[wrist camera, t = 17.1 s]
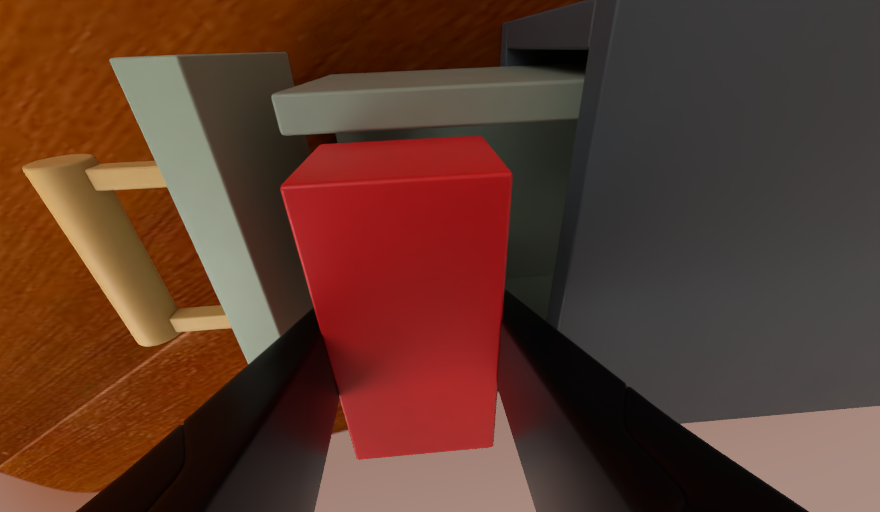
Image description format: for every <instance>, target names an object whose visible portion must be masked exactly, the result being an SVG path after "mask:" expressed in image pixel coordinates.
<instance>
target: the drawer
mask: <svg viewBox="0 0 880 512" xmlns="http://www.w3.org/2000/svg"><path fill="white" fill-rule="evenodd" d="M110 63H111V65H112V68H113V70H114V72H115V74H116V76H117V78H118V81H119V83H120V85H121V87H122V89H123V92H124V94H125V96H126V98H127V100H128V102H129V105H130V107H131V109H132V111H133V113H134V116H135V118H136V120H137V122H138V124H139V126H140V129H141V131H142V133H143V135H144V137H145V140H146V142H147V144H148V146H149V148H150V150H151V153H152V155H153V157H154V159H155V161H142V162H124V163H106V164H99V163H98V161H97V159H96V157H95V156H94V155H91V154H73V155H64V156H57V157H52V158H47V159H42V160H38V161H34V162H31V163H29V164H27V165H25V166H23V171H24V173H25V174H26V176H27V177H28V179H29V180H30V182H31V183H32V185H33V186H34V188H35V189H36V191H37V192H38V194H39V195H40V197H41V198H42V200H43V201H44V203H45V204H46V206H47V207H48V209H49V210H50V212H51V213H52V215H53V216H54V218H55V219H56V221H57V222H58V224H59V225H60V227H61V228H62V230H63V231H64V233H65V234H66V236H67V237H68V239H69V240H70V242H71V243H72V245H73V246H74V248H75V249H76V251H77V252H78V254H79V255H80V257H81V259H82V260H83V262H84V263H85V265H86V266H87V268H88V269H89V271H90V272H91V274H92V275H93V277H94V278H95V280H96V281H97V283H98V284H99V286H100V287H101V289H102V290H103V292H104V293H105V295H106V296H107V298H108V299H109V301H110V302H111V304H112V305H113V307H114V308H115V310H116V311H117V313H118V314H119V316H120V317H121V319H122V320H123V322H124V323H125V325H126V326H127V328H128V329H129V331H130V332H131V334H132V335H133V337H134V338H135V340H136V341H137V343H138V344H139V345H142V346H147V347H148V346H156V345H159V344H162V343H165V342H167V341H169V340H171V339H173V338H174V337H176V336H177V335H178V334H180V333H181V332H185V331H199V330H212V329H225V328H232V329H233V331H234V334H235V336H236V338H237V340H238V342H239V345H240V347H241V349H242V351H243V353H244V355H245V358H246V360H247V362H248V364H250V363H251V362H252V361H253V360H254V359H255V358H256V357H258V356H259V355H260V354H261V353H262V352H263V351H264V350H265V349H267V348H268V347H269V346H270V345H271V344H272V343H273V342H275V341H276V340H277V339H278V338H279V337H280V336H281V335H283V334H284V333H285V332H286V331H287V330H288V329H289V328H290V327H292V326H293V325H294V324H295V323H296V322H297V321H298V320H300V319H301V318H302V317H303V316H304V315H305V314H306V313H307V312H309V311H310V310H311V309H312V308H313V303H312V300H311V296H310V293H309V289H308V286H307V282H306V279H305V275H304V271H303V268H302V264H301V261H300V257H299V254H298V250H297V247H296V243H295V240H294V236H293V233H292V229H291V226H290V222H289V219H288V215H287V212H286V208H285V205H284V201H283V198H282V194H281V191H280V187H281V185H282V184H283V183H284V182H285V181H286V180H287V179H288V178H289V177H290V176H291V174H292V173H293V172H294V171H295V170H296V169H297V168H298V167H299V166H300V165H301V164H302V163H303V162H304V161H305V160H306V159H307V158H308V157H309V156H310V151H309V147H308V143H307V138H306V135H309V134H328V133H335V134H336V139H337V143H352V142H370V141H389V140H408V139H426V138H445V137H463V136H482V137H483V138H484V139H485V140H486V142H487V143H488V144H489V145H490V147H491V148H492V149H493V150H494V151H495V153H496V154H497V155H498V156H499V158H500V159H501V160H502V161H503V162H504V164H505V165H506V166H507V167H508V169H509V170H510V171H511V172H512V175H513V180H512V194H511V208H510V221H509V235H508V249H507V263H506V276H505V290H507V291H509V292H510V293H511V294H512V295H514V296H515V297H516V298H517V299H519V300H520V301H521V302H523V303H524V304H525V305H526V306H528V307H529V308H530V309H532V310H533V311H534V312H535V313H537V314H538V315H539V316H540V317H542V318H543V319H544V320H546V319H547V313H548V306H549V300H550V294H551V287H552V281H553V275H554V268H555V262H556V256H557V249H558V243H559V237H560V230H561V224H562V218H563V211H564V205H565V199H566V192H567V186H568V180H569V173H570V167H571V161H572V154H573V148H574V141H575V135H576V129H577V122H578V116H579V110H580V103H581V97H582V91H583V84H584V78H585V72H586V65H587V63H572V64H550V65H528V66H506V67H485V68H463V69H441V70H419V71H397V72H375V73H353V74H331V75H328V76H326V77H323V78H320V79H316V80H313V81H310V82H307V83H304V84H301V85H298V86H295V85H294V81H293V77H292V72H291V68H290V63H289V59H288V55H287V52H265V53H228V54H191V55H162V56H138V57H115V58H111V59H110ZM161 187H167V188H168V190H169V192H170V194H171V196H172V198H173V201H174V203H175V205H176V207H177V209H178V212H179V214H180V216H181V218H182V220H183V222H184V225H185V227H186V229H187V231H188V233H189V236H190V238H191V240H192V242H193V244H194V246H195V249H196V251H197V253H198V255H199V257H200V260H201V262H202V264H203V266H204V268H205V270H206V273H207V275H208V277H209V279H210V281H211V284H212V286H213V288H214V290H215V292H216V294H217V297H218V299H219V301H220V303H221V305H218V306H204V307H190V308H179V309H178V308H177V306H176V304H175V302H174V300H173V299H172V297H171V295H170V293H169V291H168V289H167V288H166V286H165V284H164V282H163V280H162V278H161V277H160V275H159V273H158V271H157V269H156V267H155V266H154V264H153V262H152V260H151V258H150V256H149V255H148V253H147V251H146V249H145V247H144V245H143V243H142V242H141V240H140V238H139V236H138V234H137V232H136V231H135V229H134V227H133V225H132V223H131V221H130V220H129V218H128V216H127V214H126V212H125V210H124V209H123V207H122V205H121V203H120V201H119V199H118V198H117V196H116V194H115V192H114V190H126V189H143V188H161Z"/></svg>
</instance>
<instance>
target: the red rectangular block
mask: <svg viewBox="0 0 880 512" xmlns="http://www.w3.org/2000/svg"><path fill="white" fill-rule="evenodd" d="M512 180H513V175H512V172H511V171H510V170H509V169H508V167H507V166H506V165H505V164H504V162H503V161H502V160H501V159H500V158H499V156H498V155H497V154H496V153H495V151H494V150H493V149H492V148H491V147H490V145H489V144H488V143H487V142H486V140H485V139H484V138H483V137H482V136H463V137H445V138H426V139H408V140H389V141H370V142H352V143H333V144H321V145H319V146H318V147H317V148H316V149H315V150H314V151H313V152H312V153H311V154H310V156H309V157H308V158H307V159H306V160H305V161H304V162H303V163H302V164H301V165H300V166H299V167H298V168H297V169H296V170H295V171H294V172H293V173H292V174H291V176H290V177H289V178H288V179H287V180H286V181H285V182H284V183H283V184H282V185H281V187H280V191H281V194H282V198H283V201H284V205H285V208H286V212H287V215H288V219H289V222H290V226H291V229H292V233H293V236H294V240H295V243H296V247H297V250H298V254H299V257H300V261H301V264H302V268H303V271H304V275H305V279H306V282H307V286H308V289H309V293H310V296H311V300H312V303H313V307H314V310H315V314H316V317H317V321H318V324H319V328H320V331H321V334H322V335H323V338H324V342H325V345H326V349H327V352H328V356H329V359H330V363H331V367H332V370H333V374H334V377H335V381H336V384H337V388H338V391H339V398H340V402H341V405H342V409H343V412H344V416H345V419H346V423H347V426H348V430H349V433H350V437H351V440H352V443H353V447H354V451H355V454H356V458H357V459H369V458H380V457H392V456H402V455H413V454H424V453H434V452H445V451H456V450H467V449H477V448H488V447H492V446H493V442H494V428H495V414H496V400H497V387H498V385H497V368H498V354H499V340H500V326H501V320H502V317H503V304H504V290H505V276H506V263H507V249H508V235H509V221H510V208H511V194H512Z"/></svg>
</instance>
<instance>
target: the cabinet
mask: <svg viewBox="0 0 880 512" xmlns="http://www.w3.org/2000/svg"><path fill="white" fill-rule="evenodd" d="M572 63H587V65H586V72H585V78H584V84H583V91H582V97H581V103H580V110H579V116H578V122H577V129H576V135H575V141H574V148H573V154H572V161H571V167H570V173H569V180H568V186H567V192H566V199H565V205H564V211H563V218H562V224H561V230H560V237H559V243H558V249H557V256H556V262H555V268H554V275H553V281H552V287H551V294H550V300H549V306H548V313H547V319H546V321H547V322H548V323H549V324H551V325H552V326H553V327H555V328H556V329H557V330H558V331H560V332H561V333H562V334H563V335H565V336H566V337H567V338H569V339H570V340H571V341H572V342H574V343H575V344H576V345H578V346H579V347H580V348H581V349H583V350H584V351H585V352H587V353H588V354H589V355H590V356H592V357H593V358H594V359H595V360H597V361H598V362H599V363H601V364H602V365H603V366H604V367H606V368H607V369H608V370H610V371H611V372H612V373H613V374H615V375H616V376H617V377H618V378H620V379H621V380H622V381H624V382H625V383H626V385H627V386H626V388H627V387H628V386H630V387H631V388H633V389H634V390H635V391H637V392H638V393H639V394H640V395H642V396H643V397H644V398H646V399H647V400H648V401H649V402H651V403H652V404H653V405H655V406H656V407H657V408H659V409H660V410H661V411H663V412H664V413H665V414H667V415H668V416H669V417H671V418H672V419H673V420H675V421H676V422H677V423H679V424H681V423H692V422H703V421H714V420H724V419H737V418H747V417H759V416H770V415H781V414H792V413H803V412H814V411H825V410H835V409H847V408H859V407H869V406H880V0H584V1H580V2H577V3H573V4H569V5H566V6H562V7H559V8H555V9H552V10H548V11H544V12H541V13H537V14H534V15H530V16H526V17H523V18H519V19H516V20H512V21H508V22H505V23H503V24H502V39H501V60H500V67H506V66H528V65H550V64H572Z"/></svg>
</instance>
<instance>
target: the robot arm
mask: <svg viewBox="0 0 880 512" xmlns="http://www.w3.org/2000/svg"><path fill="white" fill-rule="evenodd" d="M497 385H498V389H499V393H500V396H501V400H502V403H503V406H504V409H505V413H506V416H507V419H508V422H509V425H510V429H511V432H512V435H513V438H514V442H515V445H516V448H517V451H518V454H519V458H520V461H521V464H522V467H523V470H524V474H525V477H526V480H527V483H528V486H529V489H530V493H531V496H532V499H533V503H534V506H535V509H536V512H808V511H807V510H806V509H804V508H803V507H801V506H800V505H798V504H797V503H795V502H794V501H792V500H791V499H789V498H788V497H786V496H785V495H783V494H781V493H780V492H779V491H777V490H776V489H774V488H773V487H771V486H770V485H768V484H767V483H765V482H764V481H762V480H761V479H759V478H758V477H756V476H755V475H753V474H752V473H750V472H749V471H747V470H746V469H744V468H743V467H742V466H740V465H738V464H737V463H736V462H734V461H732V460H731V459H730V458H728V457H727V456H725V455H723V454H722V453H721V452H719V451H718V450H716V449H715V448H713V447H712V446H710V445H709V444H708V443H706V442H705V441H703V440H702V439H700V438H699V437H697V436H696V435H695V434H693V433H692V432H690V431H689V430H687V429H686V428H685V427H683V426H682V425H680V424H679V423H677V422H676V421H675V420H673V419H672V418H671V417H669V416H668V415H667V414H665V413H664V412H663V411H661V410H660V409H659V408H657V407H656V406H655V405H653V404H652V403H651V402H649V401H648V400H647V399H646V398H644V397H643V396H642V395H640V394H639V393H638V392H637V391H635V390H634V389H633V388H631V387H630V386H628V387H627V388H626V386H627V385H626V383H625V382H624V381H622V380H621V379H620V378H618V377H617V376H616V375H615V374H613V373H612V372H611V371H610V370H608V369H607V368H606V367H604V366H603V365H602V364H601V363H599V362H598V361H597V360H595V359H594V358H593V357H592V356H590V355H589V354H588V353H587V352H585V351H584V350H583V349H581V348H580V347H579V346H578V345H576V344H575V343H574V342H572V341H571V340H570V339H569V338H567V337H566V336H565V335H563V334H562V333H561V332H560V331H558V330H557V329H556V328H555V327H553V326H552V325H551V324H549V323H548V322H547V321H546V320H544V319H543V318H542V317H540V316H539V315H538V314H537V313H535V312H534V311H533V310H532V309H530V308H529V307H528V306H526V305H525V304H524V303H523V302H521V301H520V300H519V299H517V298H516V297H515V296H514V295H512V294H511V293H510V292H509V291H507V290H504V304H503V317H502V320H501V326H500V340H499V354H498V368H497ZM338 401H339V391H338V388H337V384H336V381H335V377H334V374H333V370H332V367H331V363H330V359H329V356H328V352H327V349H326V345H325V342H324V338H323V335H322V334H321V331H320V328H319V324H318V321H317V317H316V314H315V310H314V307H313V308H312V309H311V310H310V311H309V312H307V313H306V314H305V315H304V316H303V317H302V318H301V319H300V320H298V321H297V322H296V323H295V324H294V325H293V326H292V327H290V328H289V329H288V330H287V331H286V332H285V333H284V334H283V335H281V336H280V337H279V338H278V339H277V340H276V341H275V342H273V343H272V344H271V345H270V346H269V347H268V348H267V349H265V350H264V351H263V352H262V353H261V354H260V355H259V356H258V357H256V358H255V359H254V360H253V361H252V362H251V363H250V364H248V365H247V366H246V367H245V368H244V369H243V370H242V371H241V372H239V373H238V374H237V375H236V376H235V377H234V378H233V379H231V380H230V381H229V382H228V383H227V384H226V385H225V386H223V387H222V388H221V389H220V390H219V391H218V392H217V393H216V394H214V395H213V396H212V397H211V398H210V399H209V400H208V401H206V402H205V403H204V404H203V405H202V406H201V407H200V408H199V409H197V410H196V411H195V412H194V413H193V414H192V415H191V416H189V417H188V418H187V419H186V420H185V421H184V425H179V426H178V427H177V428H176V429H174V430H173V431H172V432H171V433H170V434H169V435H168V436H167V437H165V438H164V439H163V440H162V441H161V442H160V443H159V444H157V445H156V446H155V447H154V448H153V449H152V450H150V451H149V452H148V453H147V454H146V455H144V456H143V457H142V458H141V459H140V460H139V461H137V462H136V463H135V464H134V465H133V466H132V467H130V468H129V469H128V470H127V471H126V472H125V473H123V474H122V475H121V476H120V477H118V478H117V479H116V480H115V481H113V482H112V483H111V484H110V485H108V486H107V487H106V488H105V489H103V490H102V491H101V492H100V493H99V494H97V495H96V496H95V497H94V498H92V499H91V500H90V501H89V502H87V503H86V504H85V505H84V506H82V507H81V508H80V509H79V510H77V511H76V512H314V510H315V505H316V501H317V497H318V492H319V487H320V483H321V479H322V474H323V470H324V465H325V461H326V456H327V452H328V447H329V443H330V439H331V434H332V430H333V425H334V421H335V416H336V412H337V406H338Z"/></svg>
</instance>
